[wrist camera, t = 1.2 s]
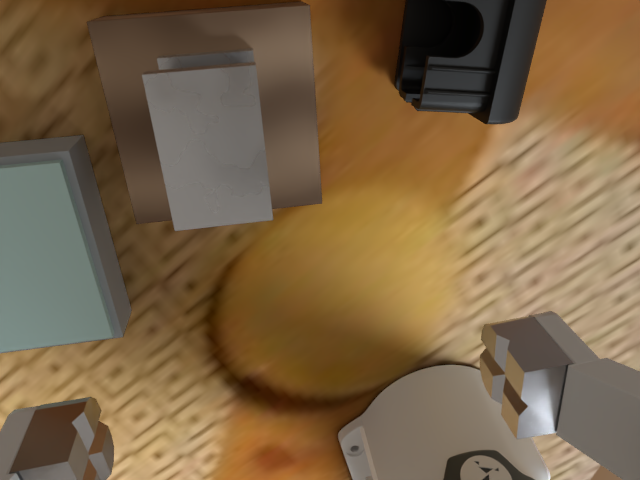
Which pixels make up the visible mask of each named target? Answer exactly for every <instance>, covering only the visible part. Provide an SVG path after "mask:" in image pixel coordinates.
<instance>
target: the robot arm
mask: <svg viewBox="0 0 640 480" xmlns="http://www.w3.org/2000/svg"><path fill="white" fill-rule="evenodd" d="M481 340H482V342H483V343H484V345H485V346H486V349H485V350H484V351H483V353H482V354H481V355H480V370H478V369H475V368H471V367H467V366H461V365H441V366H434V367H429V368H425V369H422V370H419V371H416V372H413V373H411V374H408V375H406V376H404V377H402V378H401V379H399V380H397V381H395V382H394V383H392V384H391V385H390V386H388V387H387V388H386V389H385V390H383V391H382V392H381V393H380V394H379V395H378V396H377V397H376V398H375V400H374V401H373V402H372V403H371V405H370V406H369V407H368V409H367V410H366V411H365V412H364V413H363V414H362V415H361V416H360V417H358V418H357V419H355V420H353V421H352V422H350V423H349V424H347V425H346V426H345V427H343V428H342V429H341V430H340V432H339V433H338V440H339V442H340V445H341V448H342V451H343V454H344V457H345V460H346V463H347V465H348V468H349V471H350V474H351V477H352V480H550V473H549V470H548V468H547V466H546V464H545V462H544V460H543V458H542V456H541V454H540V452H539V450H538V448H537V446H536V444H535V443H534V441H533V439H532V437H534V436H539V435H545V434H551V433H556V432H557V433H556V435H558V436H559V437H560V438H562V439H563V440H565V441H566V442H568V443H569V444H571V445H572V446H574V447H575V448H577V449H578V450H580V451H581V452H583V453H584V454H586V455H587V456H589V457H590V458H592V459H593V460H594V461H596V462H597V463H599V464H600V465H602V466H604V467H605V468H606V469H608V470H609V471H611V472H612V473H614V474H615V475H617V476H618V477H620V478H621V479H623V480H640V372H639V371H637V370H635V369H632V368H630V367H627V366H625V365H623V364H620V363H618V362H615V361H613V360H610V359H608V358H604V359H599V358H598V357H597V356H596V354H595V353H594V352H593V351H592V350H591V349H590V348H589V347H588V346H587V345H586V344H585V343H584V342H583V341H582V340H581V339H580V338H579V337H578V336H577V335H576V333H575V332H574V331H573V330H572V329H571V328H570V327H569V326H568V325H567V324H566V323H565V322H564V321H563V320H562V319H561V318H560V317H559V316H558V315H557V314H556V313H554V312H552V311H549V312H544V313H539V314H535V315H530V316H528V317H521V318H516V319H511V320H506V321H501V322H495V323H490V324H485V325H484V326H483V329H482V335H481ZM100 414H101V409H100V406H99V404H98V402H97V400H96V399H95V398H92V397H88V398H82V399H76V400H69V401H63V402H57V403H51V404H45V405H41V406H35V407H29V408H23V409H17V410H14V411H13V412H12V413H10V414H9V415H8V417H7V419H6V421H5V423H4V425H3V427H2V429H1V431H0V480H106V479H107V478H108V477H109V476H110V475H111V472H112V467H113V462H114V445H113V440H112V435H111V433H110V430H109V427H108V426H107V425H105V424H103V423H102V422H100V421H99V418H100Z"/></svg>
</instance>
